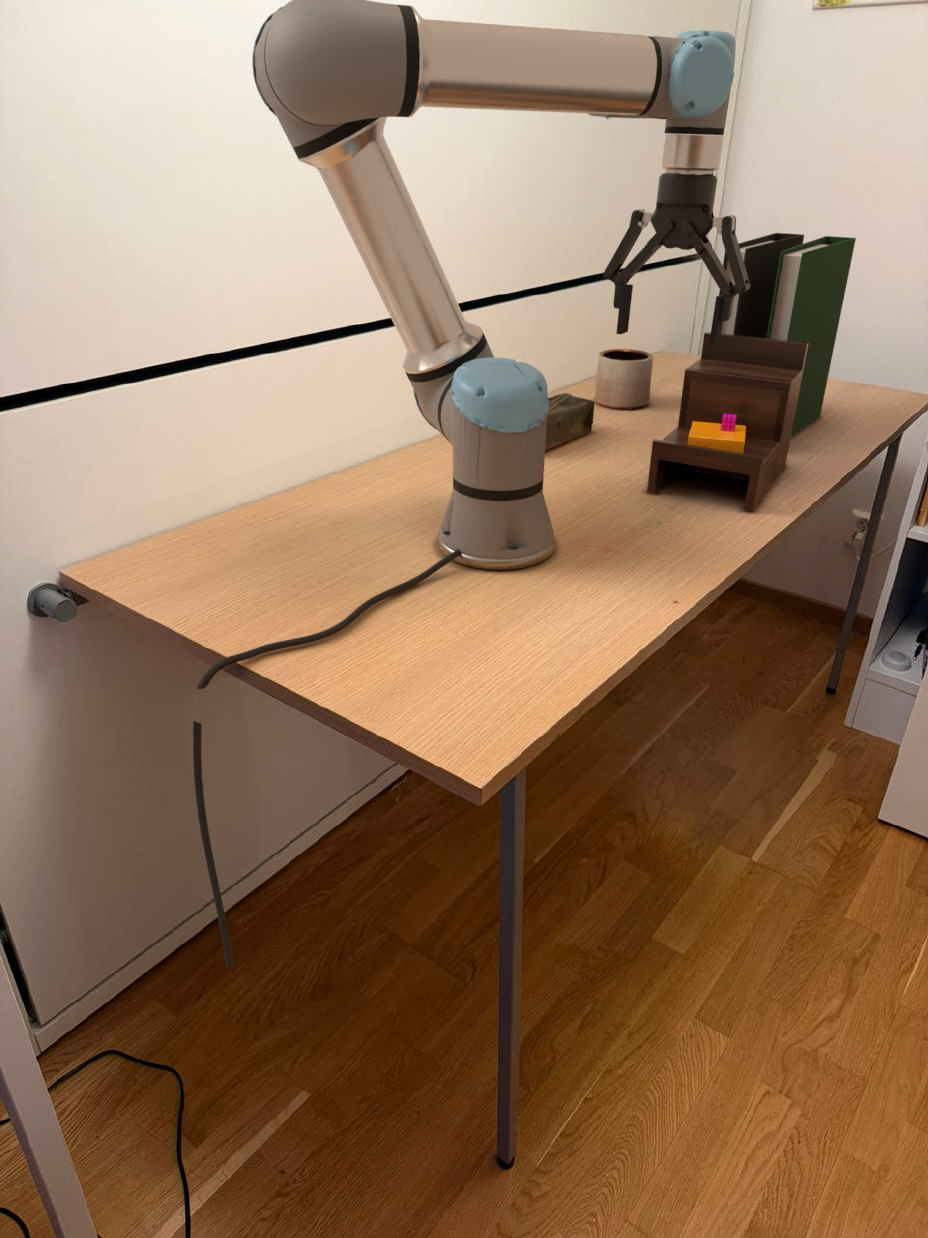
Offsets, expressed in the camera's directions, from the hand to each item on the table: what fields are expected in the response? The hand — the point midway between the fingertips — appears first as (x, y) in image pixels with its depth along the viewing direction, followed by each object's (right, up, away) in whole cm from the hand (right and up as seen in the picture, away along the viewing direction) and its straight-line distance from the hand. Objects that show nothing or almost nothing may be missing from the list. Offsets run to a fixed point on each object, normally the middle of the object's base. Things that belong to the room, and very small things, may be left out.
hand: (667, 338), depth 127 cm
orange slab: (+9, -14, +7) cm, 18 cm away
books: (+26, -4, +39) cm, 47 cm away
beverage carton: (-14, -8, +32) cm, 36 cm away
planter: (+3, +4, +53) cm, 54 cm away
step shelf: (+12, -18, +15) cm, 26 cm away
